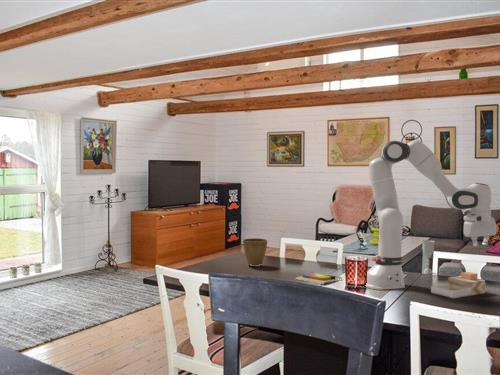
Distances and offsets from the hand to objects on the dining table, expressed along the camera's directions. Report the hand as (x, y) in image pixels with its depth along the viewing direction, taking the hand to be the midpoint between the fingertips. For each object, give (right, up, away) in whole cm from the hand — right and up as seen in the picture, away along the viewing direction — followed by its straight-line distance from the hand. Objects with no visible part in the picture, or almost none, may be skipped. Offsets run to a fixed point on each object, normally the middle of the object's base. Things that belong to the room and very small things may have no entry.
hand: (480, 245), depth 226 cm
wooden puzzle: (-75, -21, +19) cm, 80 cm away
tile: (-7, -15, -4) cm, 17 cm away
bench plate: (-9, -21, -5) cm, 23 cm away
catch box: (-18, -21, -10) cm, 30 cm away
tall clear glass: (-10, -21, +41) cm, 47 cm away
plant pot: (-108, -20, +58) cm, 124 cm away
